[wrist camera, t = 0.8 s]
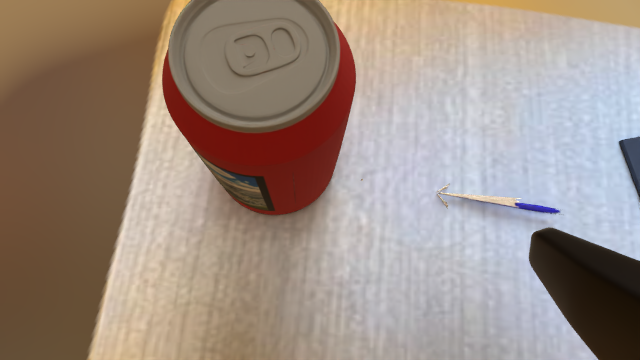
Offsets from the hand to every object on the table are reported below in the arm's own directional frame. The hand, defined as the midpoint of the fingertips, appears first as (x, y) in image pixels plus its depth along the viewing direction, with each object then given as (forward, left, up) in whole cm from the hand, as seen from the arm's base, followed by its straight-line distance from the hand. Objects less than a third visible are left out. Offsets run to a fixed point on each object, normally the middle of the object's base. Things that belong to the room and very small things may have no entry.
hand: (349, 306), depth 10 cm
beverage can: (+8, +1, -14) cm, 17 cm away
